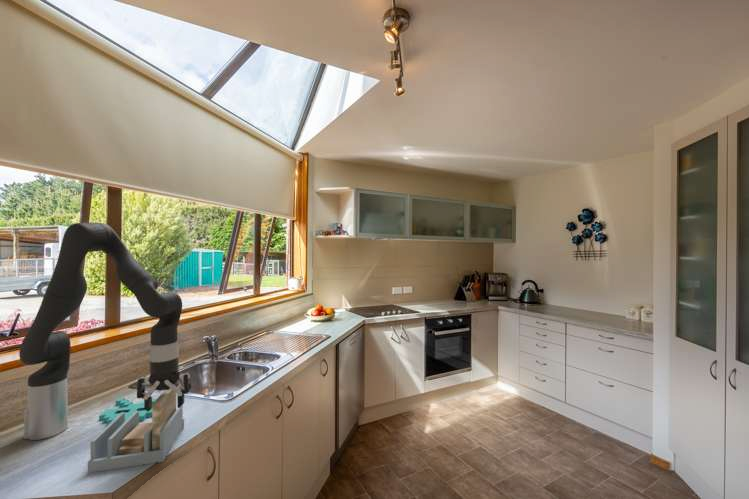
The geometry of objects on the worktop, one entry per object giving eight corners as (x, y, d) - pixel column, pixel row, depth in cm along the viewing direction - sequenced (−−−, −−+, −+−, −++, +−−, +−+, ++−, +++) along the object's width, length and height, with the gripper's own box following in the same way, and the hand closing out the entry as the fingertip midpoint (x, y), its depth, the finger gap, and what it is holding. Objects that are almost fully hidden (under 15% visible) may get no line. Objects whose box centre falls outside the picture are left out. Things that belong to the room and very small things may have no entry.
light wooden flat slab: (152, 458, 92) (152, 404, 92) (169, 433, 105) (169, 385, 105) (160, 457, 93) (159, 403, 93) (176, 432, 105) (175, 384, 105)
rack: (87, 472, 86) (87, 443, 86) (122, 435, 104) (122, 411, 104) (162, 461, 91) (162, 434, 91) (184, 427, 108) (184, 404, 108)
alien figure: (118, 404, 126) (87, 432, 106) (118, 398, 126) (87, 425, 106) (175, 397, 131) (155, 423, 112) (175, 392, 131) (155, 417, 112)
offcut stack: (117, 462, 91) (117, 443, 91) (142, 437, 103) (141, 421, 103) (141, 460, 92) (141, 441, 92) (163, 436, 104) (163, 419, 104)
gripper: (132, 363, 93) (132, 417, 93) (185, 358, 97) (186, 411, 97) (143, 354, 101) (144, 405, 101) (193, 351, 104) (193, 400, 104)
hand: (164, 408), depth 99 cm, fingers open, 8 cm apart
